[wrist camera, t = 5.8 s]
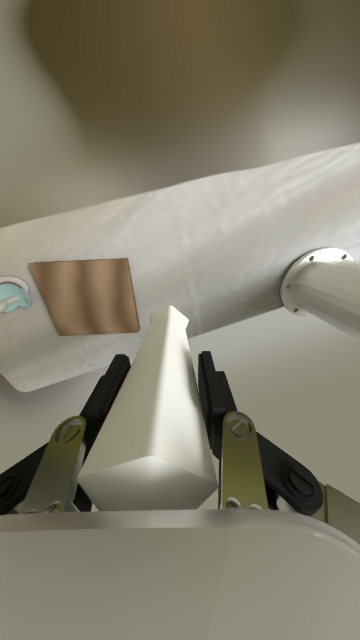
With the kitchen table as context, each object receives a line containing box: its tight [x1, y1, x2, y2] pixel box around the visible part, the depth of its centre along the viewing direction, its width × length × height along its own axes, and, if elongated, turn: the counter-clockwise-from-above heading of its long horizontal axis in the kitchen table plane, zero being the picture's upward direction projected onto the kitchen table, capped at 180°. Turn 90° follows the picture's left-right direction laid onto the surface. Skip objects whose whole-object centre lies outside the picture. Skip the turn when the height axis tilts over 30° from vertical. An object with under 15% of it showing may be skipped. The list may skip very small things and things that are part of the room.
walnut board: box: [29, 258, 140, 336], centre depth 31 cm, size 16×14×2 cm
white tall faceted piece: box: [76, 305, 218, 511], centre depth 10 cm, size 5×4×15 cm
